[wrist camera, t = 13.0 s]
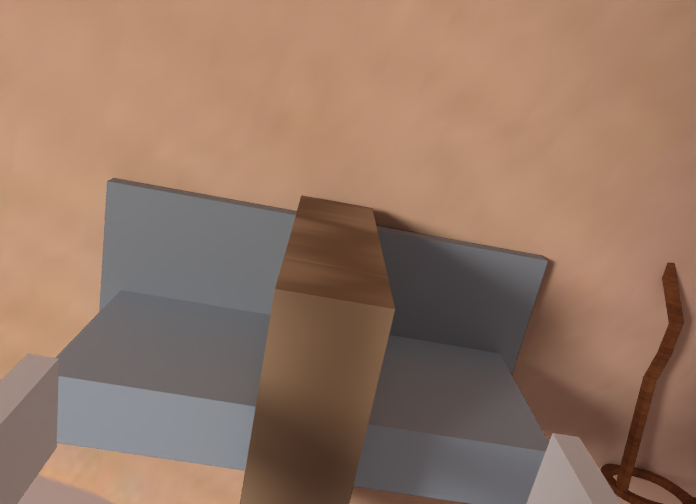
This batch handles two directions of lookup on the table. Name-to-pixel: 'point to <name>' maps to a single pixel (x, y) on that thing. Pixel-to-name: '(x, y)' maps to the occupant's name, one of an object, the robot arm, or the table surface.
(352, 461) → the brown rectangular block
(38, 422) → the robot arm
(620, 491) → the glasses
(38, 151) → the table surface
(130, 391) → the stand board
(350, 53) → the table surface
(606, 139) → the table surface
